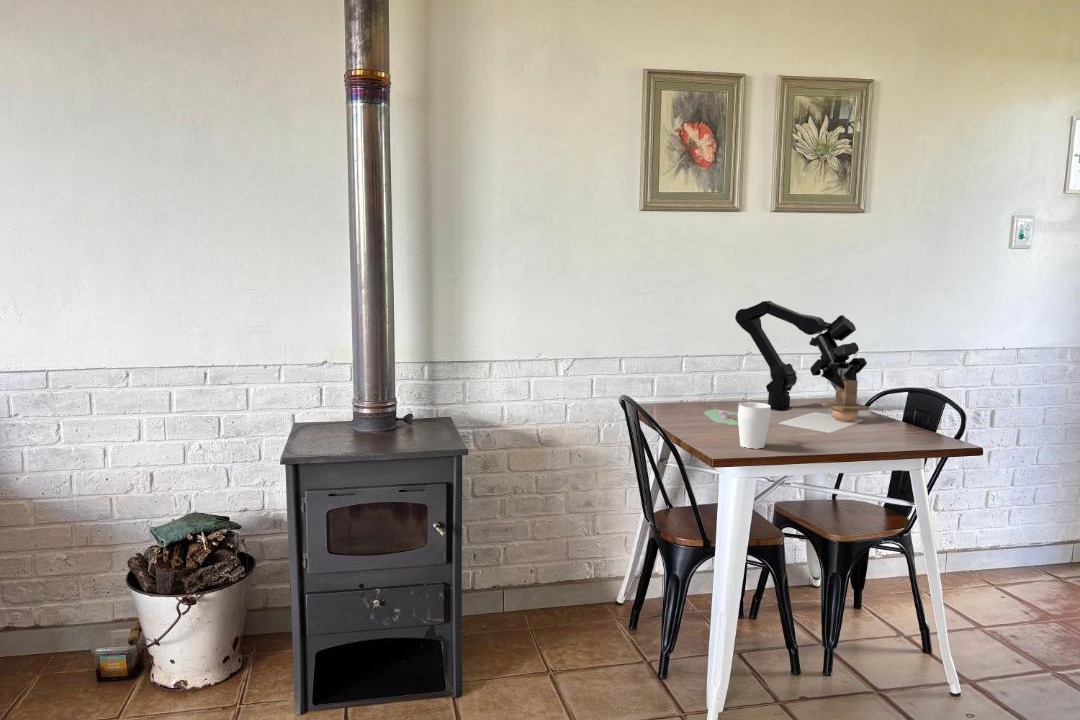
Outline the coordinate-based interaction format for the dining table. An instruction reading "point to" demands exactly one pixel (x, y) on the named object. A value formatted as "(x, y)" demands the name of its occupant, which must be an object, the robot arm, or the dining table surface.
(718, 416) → the plant
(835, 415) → the bowl
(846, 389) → the lid
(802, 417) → the mat
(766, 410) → the cup
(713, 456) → the dining table surface
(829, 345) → the robot arm
